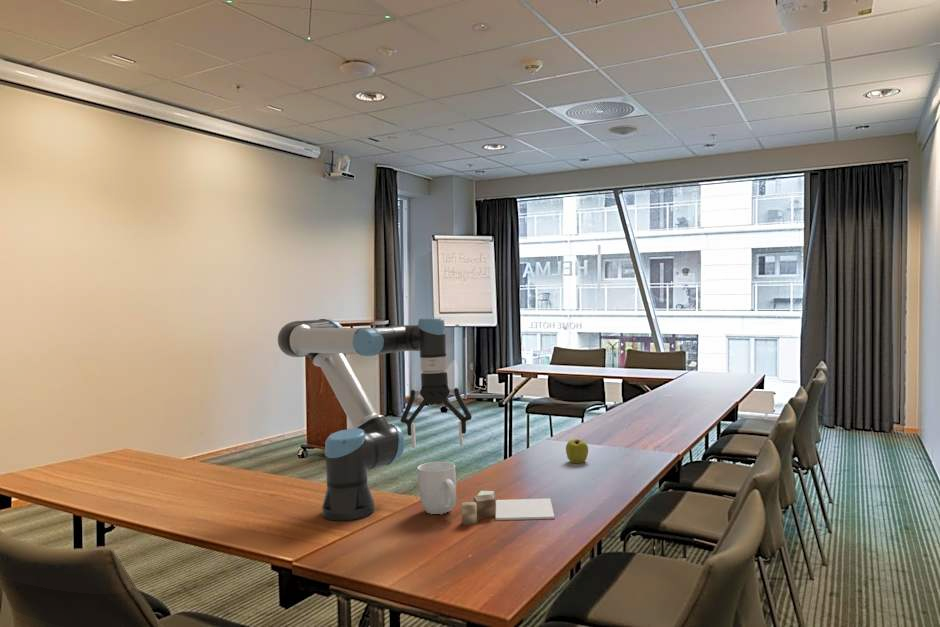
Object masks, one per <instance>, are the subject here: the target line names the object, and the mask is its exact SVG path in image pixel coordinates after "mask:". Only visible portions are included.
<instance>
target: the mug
mask: <svg viewBox="0 0 940 627" xmlns="http://www.w3.org/2000/svg"><path fill="white" fill-rule="evenodd" d="M416 470H417V487H418V488H417V489H418V493H419V494H418V495H419V497H420V501H421V506H422V507H423V509H424V510H425V511H426V513H427V514H429V513H430V514H429V515H432V514H440V515H444V513H445V514H447V512H448V513H449V512H451V510H452V509H453V508H454V507H456V505H457V477H456V476H457V474H456V465H455V464H454V463H452V462H448V461H431V462H425V463H422V464H420V465H418V466H417V468H416Z"/></svg>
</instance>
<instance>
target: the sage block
mask: <svg viewBox="0 0 940 627" xmlns="http://www.w3.org/2000/svg"><path fill="white" fill-rule="evenodd" d="M489 494H491V495H492V496H493V498H494V499H495V500H496V498H495V490H480V491H479V492H478V494H477V495H476V496H479V495H489Z"/></svg>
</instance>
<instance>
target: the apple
mask: <svg viewBox="0 0 940 627" xmlns="http://www.w3.org/2000/svg"><path fill="white" fill-rule="evenodd" d="M565 454H566V457H567V459H568V460H569V462H570V463H573V464H577V463H578V464H581V463H584V462H585V461H586V460H587V458H588V455H589V446H588V444H587V443H586V442H585V441H584V440H583V439H580V436H578V438H574V439H570V440H569V441H568V442H567V443H566V446H565Z"/></svg>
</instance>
